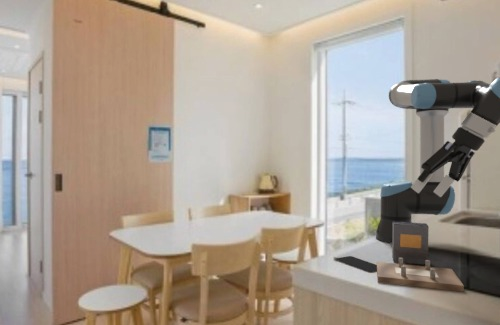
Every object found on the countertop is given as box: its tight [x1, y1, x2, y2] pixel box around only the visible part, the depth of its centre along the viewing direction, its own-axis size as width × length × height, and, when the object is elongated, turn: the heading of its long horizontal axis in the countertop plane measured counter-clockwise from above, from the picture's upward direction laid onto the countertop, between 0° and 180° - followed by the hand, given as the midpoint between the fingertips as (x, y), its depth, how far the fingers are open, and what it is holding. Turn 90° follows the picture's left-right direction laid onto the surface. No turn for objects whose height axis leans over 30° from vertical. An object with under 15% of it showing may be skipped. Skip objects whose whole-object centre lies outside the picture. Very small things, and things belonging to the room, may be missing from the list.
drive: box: [391, 222, 429, 265], centre depth 114 cm, size 10×5×12 cm, turn 72°
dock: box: [376, 258, 465, 292], centre depth 97 cm, size 20×14×4 cm
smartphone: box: [334, 255, 377, 274], centre depth 110 cm, size 7×1×15 cm
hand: (426, 192), depth 107 cm, fingers open, 13 cm apart
